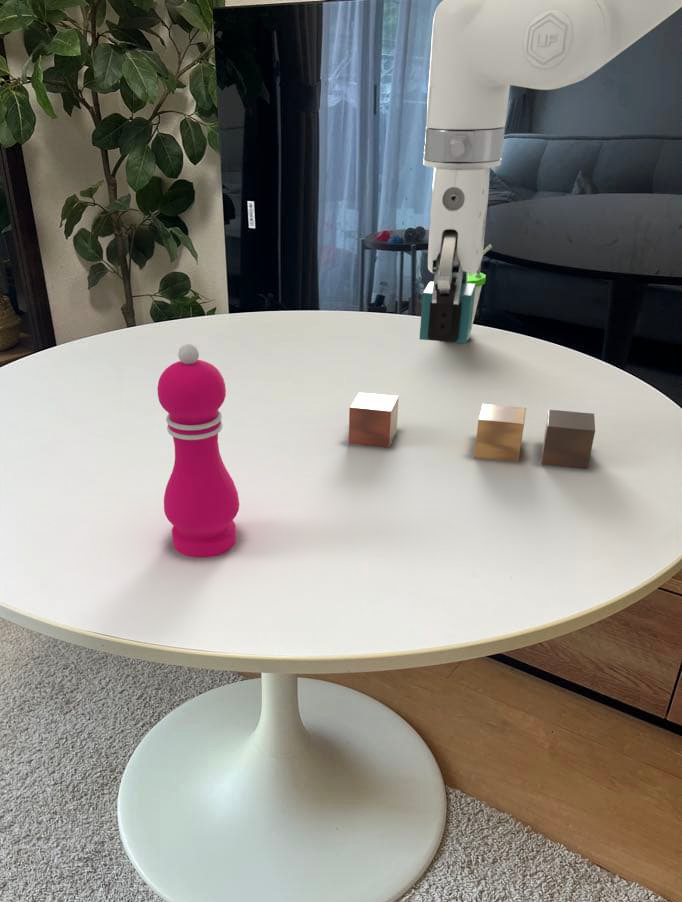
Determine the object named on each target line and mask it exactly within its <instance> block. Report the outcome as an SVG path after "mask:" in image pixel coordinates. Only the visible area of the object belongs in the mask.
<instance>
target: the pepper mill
mask: <svg viewBox="0 0 682 902" xmlns="http://www.w3.org/2000/svg"><path fill="white" fill-rule="evenodd" d="M177 355H178V359H179V361H176V362H173V363H172V364H170V365H168V366H167V368H165V369H164V371H163V372H162V373H161V375H160V376H159V379H158V383H157V397H158V401H159V404H160V406H161V407H162V408H163V410H164V411H165V412H167V413H168V414H167V416H166V418H165V421H166V423H167V428H166V430H167V433H168V434H169V435H170V436H172V439H173V443H174V463H173V467H172V471H171V474H170V476H169V479H168V481H167V483H166V485H165V491H164V495H163V512H164V515H165V517H166V519H167V521H168V522H169V523H170V524H171V525H172V527H171V537H172V545H173V548H174V549H175V550H176V551H177V552H178V553H179V554H181V555H183V556H187V557H191V558H211V557H216V556H220V555H223V554H224V553H226V552H228V551H230V550H232V548H233V547H234V546H235V545H236V542H237V527H236V526H237V525H236V523H235V522H234V520H235V518H236V516H237V515H238V512H239V510H240V498H239V492H238V490H237V487H236V485H235V484H236V483H235V481H234V480H233V478H232V476H231V475H230V473H229V471H228V469H227V468H226V466H225V464H224V461H223V458H222V456H221V453H220V447H219V433H220V432H221V431H222V430H223V427H224V426H223V425H224V424H223V422H222V419H223V414H222V412H221V411H220V410H219V409H220V408H221V407H222V405H223V404H224V402H225V399H226V396H227V389H226V388H227V387H226V382H225V379H224V377H223V375H222V373H221V371H220V370H219V369H218V368H217V367H216V366H215V365H213V364H211V363H209V362H207V361H206V360H201V359H199V358H200V352H199V350H198V348H197V347H196V345H194V344H192V343H185V344H182V346H180V348H179V349H178V353H177Z"/></svg>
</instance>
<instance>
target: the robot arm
mask: <svg viewBox="0 0 682 902" xmlns="http://www.w3.org/2000/svg"><path fill="white" fill-rule="evenodd" d="M681 8H682V0H441V2H440V3H439V4H438V5H437V6H436V9H435V11H434V15H433V20H432V31H431V32H432V33H431V44H430V45H431V46H430V57H429V59H430V60H429V74H428V89H427V102H426V103H427V105H426V118H425V119H426V121H425V133H424V137H425V138H424V147H423V148H424V149H423V161H422V162H423V163H422V165H423V166H424V167H427V168H431V169H433V179H432V189H431V190H432V191H431V200H430V216H429V230H428V246H427V247H428V248H427V269H428V271H429V272H430V273H431V274H433V275H434V277H433V282H434V285H433V294H432V301H431V302H430V314H429V326H428V339H429V340H428V341H435V342H436V341H437V342H449V343H450V342H451V343H457V342H456V341H457V340H458V337H459V328H460V318H461V308H462V303H459V301H460V292H461V284H462V283H467V275H468V272H469V276H472V275H474V274H475V273H476V272H477V270H478V268H479V266H480V263H481V264H482V260H483V258H484V257H483V256H484V255H483V250H484V247H485V246H484V245H485V234H486V225H487V224H486V223H487V214H488V205H489V192H490V174H491V173H490V171H491V170H490V169H491V168H496V167H500V166H501V165H502V157H503V147H504V141H505V131H506V124H507V123H506V122H507V113H508V107H509V106H508V105H509V96H510V90H511V89H510V87H511V86H514V87H521V88H527V89H532V90H539V91H541V90H542V91H552V90H557V89H561V88H565V87H567V86H570V85H574V84H576V83H578V82H581V81H584V80H585V79H587V78H588V77H590V76H591V75H593V74H594V73H595V72H597V71H598V70H600V69H601V68H602V67H604V66H605V65H607V64H608V63H609V62H611V61H612V60H613V59H614V58H616V57H617V56H619V54H621V53H622V52H624V51H625V50H627V48H629V47H630V46H632V45H633V44H634V43H636V42H637V41H638V40H639V39H641V38H643V37H644V36H645V35H646V34H648V33H649V32H651V31H652V30H653V29H655V28H656V27H657V26H658V25H660V24H661V23H663V22H664V21H666V19H668V18H669V17H670V16H672V15H673V14H674V13H675V12H677V11H678V10H679V9H681ZM455 283H456V284H455Z"/></svg>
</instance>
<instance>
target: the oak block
mask: <svg viewBox="0 0 682 902" xmlns="http://www.w3.org/2000/svg"><path fill="white" fill-rule="evenodd" d="M526 413H527V407H523V406H513V405H503V404H501V405H500V404H492V403H491V404H490V403H482V405H481V408H480V412H479V415H478V421H477V429H476V436H475V437H476V438H475V439H476V440H475V445H474V446H475V447H474V455H473V457H474V458H479V459H489V460H496V461H497V460H498V461H506V462H515V463H516V462H517V463H518V462H519V460H520V454H521V447H522V442H523V441H522V440H523V434H524V428H525V422H526V421H525V420H526Z"/></svg>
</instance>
